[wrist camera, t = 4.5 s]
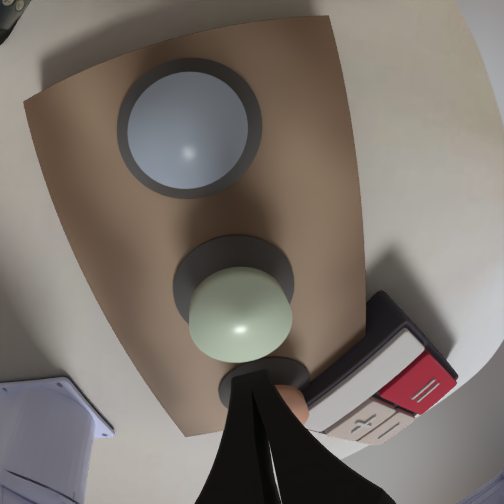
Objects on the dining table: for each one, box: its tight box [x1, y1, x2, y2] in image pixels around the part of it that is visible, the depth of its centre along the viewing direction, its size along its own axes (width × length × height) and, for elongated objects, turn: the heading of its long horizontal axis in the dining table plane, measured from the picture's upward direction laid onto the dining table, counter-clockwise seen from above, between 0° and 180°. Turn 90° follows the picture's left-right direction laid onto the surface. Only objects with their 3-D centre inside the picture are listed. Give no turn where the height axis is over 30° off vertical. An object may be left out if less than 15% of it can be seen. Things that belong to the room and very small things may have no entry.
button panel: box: [23, 15, 366, 437], centre depth 16 cm, size 14×24×2 cm, turn 12°
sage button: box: [189, 267, 292, 363], centre depth 14 cm, size 4×4×1 cm
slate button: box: [127, 72, 248, 189], centre depth 11 cm, size 4×4×1 cm
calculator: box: [302, 291, 458, 446], centre depth 23 cm, size 11×4×15 cm
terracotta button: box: [275, 385, 309, 425], centre depth 17 cm, size 4×4×1 cm
